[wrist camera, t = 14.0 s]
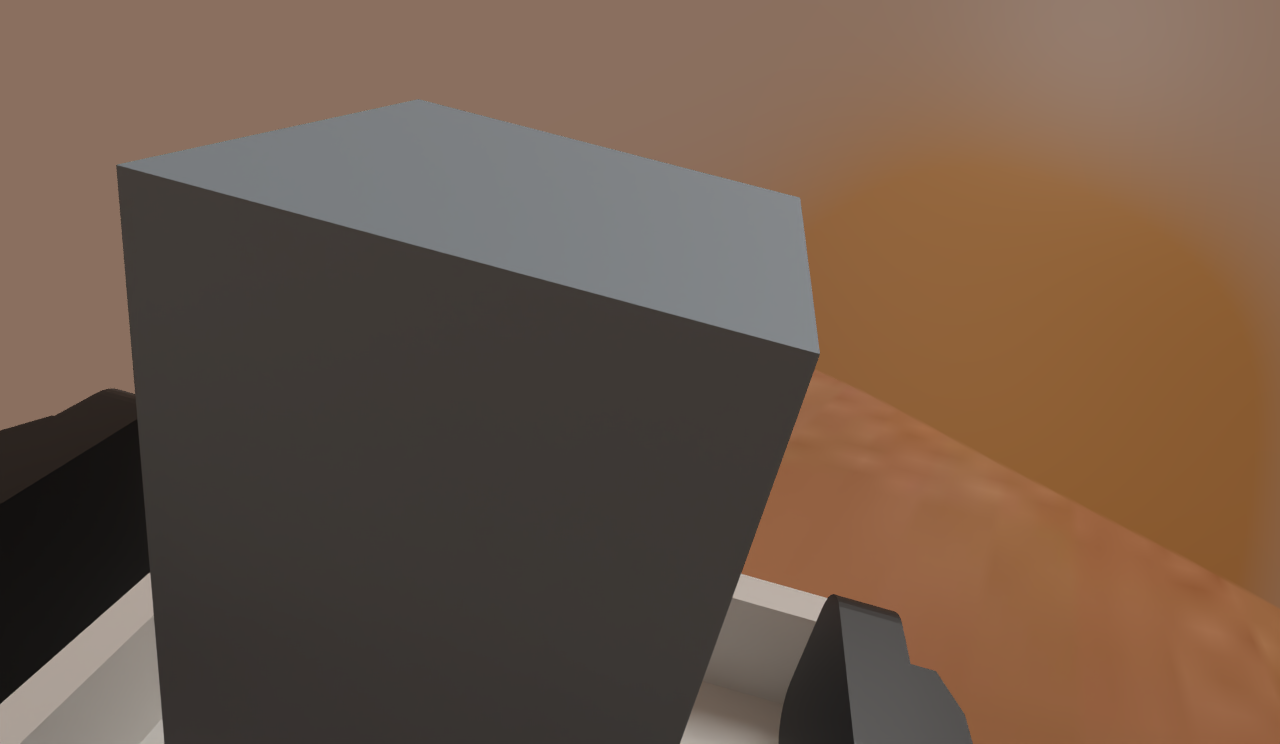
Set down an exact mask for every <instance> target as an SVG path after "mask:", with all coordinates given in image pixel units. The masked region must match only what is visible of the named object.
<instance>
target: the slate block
mask: <svg viewBox="0 0 1280 744" xmlns="http://www.w3.org/2000/svg"><path fill="white" fill-rule="evenodd" d="M116 166H117V178H118V191H119V203H120V215H121V227H122V239H123V249H124V250H123V251H124V262H125V274H126V287H127V299H128V311H129V322H130V334H131V347H132V359H133V370H134V383H135V396H136V408H137V420H138V432H139V444H140V456H141V468H142V480H143V492H144V504H145V516H146V528H147V540H148V552H149V564H150V576H151V588H152V600H153V613H154V625H155V637H156V649H157V661H158V673H159V685H160V697H161V709H162V721H163V733H164V744H680V742H681V739H682V736H683V734H684V731H685V728H686V725H687V723H688V720H689V717H690V714H691V711H692V709H693V706H694V703H695V700H696V697H697V695H698V692H699V689H700V686H701V684H702V681H703V678H704V675H705V672H706V670H707V667H708V664H709V661H710V658H711V656H712V653H713V650H714V647H715V645H716V642H717V639H718V636H719V633H720V631H721V628H722V625H723V622H724V619H725V617H726V614H727V611H728V608H729V606H730V603H731V600H732V597H733V594H734V592H735V589H736V586H737V583H738V581H739V578H740V575H741V572H742V569H743V567H744V564H745V561H746V558H747V555H748V553H749V550H750V547H751V544H752V542H753V539H754V536H755V533H756V530H757V528H758V525H759V522H760V519H761V516H762V514H763V511H764V508H765V505H766V503H767V500H768V497H769V494H770V491H771V489H772V486H773V483H774V480H775V477H776V475H777V472H778V469H779V466H780V464H781V461H782V458H783V455H784V452H785V450H786V447H787V444H788V441H789V439H790V436H791V433H792V430H793V427H794V425H795V422H796V419H797V416H798V413H799V411H800V408H801V405H802V402H803V400H804V397H805V394H806V391H807V388H808V386H809V383H810V380H811V377H812V374H813V372H814V369H815V366H816V363H817V361H818V358H819V355H820V352H819V344H818V336H817V329H816V320H815V312H814V304H813V296H812V288H811V280H810V274H809V265H808V257H807V249H806V241H805V233H804V227H803V218H802V210H801V202H800V198H799V197H795V196H791V195H787V194H783V193H779V192H775V191H771V190H768V189H764V188H760V187H756V186H752V185H748V184H744V183H740V182H736V181H733V180H729V179H725V178H721V177H717V176H714V175H710V174H706V173H702V172H698V171H694V170H690V169H686V168H682V167H678V166H675V165H671V164H667V163H663V162H659V161H655V160H652V159H648V158H644V157H640V156H636V155H632V154H628V153H624V152H621V151H616V150H613V149H609V148H605V147H601V146H597V145H593V144H590V143H586V142H582V141H578V140H574V139H570V138H566V137H563V136H559V135H555V134H551V133H547V132H543V131H539V130H535V129H531V128H528V127H524V126H520V125H516V124H512V123H508V122H504V121H500V120H497V119H493V118H489V117H485V116H481V115H477V114H473V113H470V112H466V111H462V110H458V109H454V108H450V107H446V106H443V105H439V104H435V103H431V102H427V101H423V100H419V99H418V100H414V101H409V102H405V103H400V104H395V105H390V106H386V107H381V108H377V109H372V110H367V111H363V112H358V113H354V114H349V115H344V116H340V117H335V118H330V119H326V120H321V121H317V122H312V123H308V124H303V125H298V126H294V127H289V128H284V129H280V130H275V131H270V132H266V133H261V134H257V135H252V136H247V137H243V138H238V139H234V140H229V141H225V142H220V143H216V144H211V145H206V146H201V147H197V148H192V149H188V150H183V151H178V152H174V153H169V154H164V155H160V156H155V157H150V158H146V159H142V160H137V161H133V162H128V163H123V164H118V165H116Z"/></svg>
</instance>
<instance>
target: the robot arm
mask: <svg viewBox="0 0 1280 744" xmlns="http://www.w3.org/2000/svg"><path fill="white" fill-rule="evenodd" d="M149 573H150V564H149V552H148V540H147V528H146V516H145V504H144V492H143V480H142V468H141V456H140V444H139V432H138V420H137V408H136V396H135V394H133V393H129V392H126V391H122V390H118V389H106V390H102V391H100V392H98V393H96V394H94V395H92V396H90V397H88V398H87V399H85V400H83V401H81V402H79V403H78V404H76V405H74V406H72V407H70V408H68V409H67V410H65V411H63V412H61V413H59V414H57V415H56V416H49V417H46V418H42V419H39V420H35V421H32V422H28V423H25V424H21V425H18V426H15V427H11V428H8V429H4V430H1V431H0V704H1V703H2V702H3V701H4V700H5V699H7V698H8V697H9V696H10V695H11V694H12V693H13V692H15V691H16V690H17V689H18V688H19V687H20V686H21V685H23V684H24V683H25V682H26V681H27V680H28V679H29V678H30V677H32V676H33V675H34V674H35V673H36V672H37V671H38V670H40V669H41V668H42V667H43V666H44V665H45V664H46V663H48V662H49V661H50V660H51V659H52V658H53V657H54V656H55V655H57V654H58V653H59V652H60V651H61V650H62V649H63V648H65V647H66V646H67V645H68V644H69V643H70V642H71V641H73V640H74V639H75V638H76V637H77V636H78V635H79V634H80V633H82V632H83V631H84V630H85V629H86V628H87V627H88V626H90V625H91V624H92V623H93V622H94V621H95V620H96V619H98V618H99V617H100V616H101V615H102V614H103V613H104V612H105V611H107V610H108V609H109V608H110V607H111V606H112V605H113V604H115V603H116V602H117V601H118V600H119V599H120V598H121V597H123V596H124V595H125V594H126V593H127V592H128V591H129V590H130V589H132V588H133V587H134V586H135V585H136V584H137V583H138V582H140V581H141V580H142V579H143V578H144V577H145V576H146V575H148V574H149ZM778 744H973V743H972V740H971V736H970V732H969V729H968V725H967V721H966V718H965V714H964V713H963V711H962V710H961V708H960V707H959V705H958V704H957V702H956V701H955V699H954V698H953V696H952V695H951V693H950V692H949V690H948V689H947V687H946V686H945V684H944V683H943V681H942V680H941V678H940V677H939V675H938V674H937V672H936V671H933V670H929V669H926V668H922V667H919V666H915V665H912V664H910V660H909V655H908V650H907V645H906V640H905V636H904V631H903V626H902V622H901V619H900V617H899V615H898V614H897V613H896V612H894V611H891V610H887V609H884V608H880V607H877V606H873V605H870V604H866V603H862V602H859V601H855V600H852V599H848V598H845V597H841V596H838V595H834V594H833V595H830V596H829V597H828V599H827V600H826V602H825V603H824V605H823V607H822V609H821V612H820V614H819V616H818V619H817V621H816V623H815V626H814V628H813V630H812V633H811V635H810V637H809V640H808V642H807V644H806V647H805V649H804V651H803V654H802V656H801V658H800V661H799V663H798V665H797V668H796V670H795V672H794V675H793V677H792V679H791V681H790V684H789V687H788V690H787V693H786V696H785V700H784V704H783V708H782V713H781V719H780V727H779V742H778Z"/></svg>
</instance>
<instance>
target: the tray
mask: <svg viewBox="0 0 1280 744" xmlns="http://www.w3.org/2000/svg"><path fill="white" fill-rule="evenodd" d="M827 599H828V598H825V597H821V596H818V595H814V594H811V593H807V592H803V591H800V590H796V589H793V588H789V587H786V586H782V585H779V584H775V583H771V582H768V581H764V580H761V579H757V578H754V577H750V576H747V575H743V574H741V575H740V578H739V581H738V583H737V586H736V589H735V592H734V594H733V597H732V600H731V603H730V606H729V608H728V611H727V614H726V617H725V619H724V622H723V625H722V628H721V631H720V633H719V636H718V639H717V642H716V645H715V647H714V650H713V653H712V656H711V658H710V661H709V664H708V667H707V670H706V672H705V675H704V678H703V681H702V684H701V686H700V689H699V692H698V695H697V697H696V700H695V703H694V706H693V709H692V711H691V714H690V717H689V720H688V723H687V725H686V728H685V731H684V734H683V736H682V739H681V742H680V744H778V742H779V727H780V719H781V713H782V708H783V704H784V700H785V696H786V693H787V690H788V687H789V684H790V681H791V679H792V677H793V675H794V672H795V670H796V668H797V665H798V663H799V661H800V658H801V656H802V654H803V651H804V649H805V647H806V644H807V642H808V640H809V637H810V635H811V633H812V630H813V628H814V626H815V623H816V621H817V619H818V616H819V614H820V612H821V609H822V607H823V605H824V603H825V602H826V600H827ZM0 744H164V733H163V721H162V709H161V697H160V685H159V673H158V661H157V649H156V637H155V625H154V613H153V600H152V588H151V576H150V573H149V574H148V575H146V576H145V577H144V578H143V579H142V580H141V581H140V582H138V583H137V584H136V585H135V586H134V587H133V588H132V589H130V590H129V591H128V592H127V593H126V594H125V595H124V596H123V597H121V598H120V599H119V600H118V601H117V602H116V603H115V604H113V605H112V606H111V607H110V608H109V609H108V610H107V611H105V612H104V613H103V614H102V615H101V616H100V617H99V618H98V619H96V620H95V621H94V622H93V623H92V624H91V625H90V626H88V627H87V628H86V629H85V630H84V631H83V632H82V633H80V634H79V635H78V636H77V637H76V638H75V639H74V640H73V641H71V642H70V643H69V644H68V645H67V646H66V647H65V648H63V649H62V650H61V651H60V652H59V653H58V654H57V655H55V656H54V657H53V658H52V659H51V660H50V661H49V662H48V663H46V664H45V665H44V666H43V667H42V668H41V669H40V670H38V671H37V672H36V673H35V674H34V675H33V676H32V677H30V678H29V679H28V680H27V681H26V682H25V683H24V684H23V685H21V686H20V687H19V688H18V689H17V690H16V691H15V692H13V693H12V694H11V695H10V696H9V697H8V698H7V699H5V700H4V701H3V702H2V703H1V704H0Z"/></svg>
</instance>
